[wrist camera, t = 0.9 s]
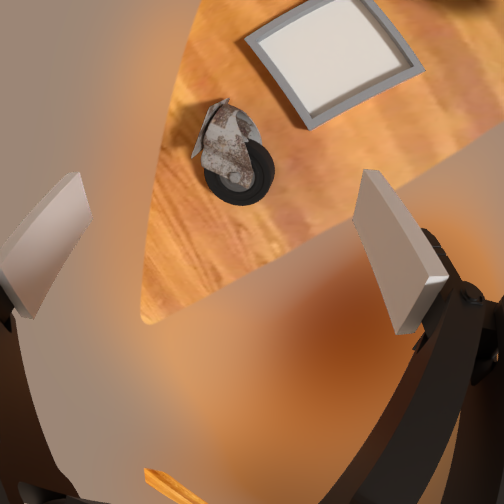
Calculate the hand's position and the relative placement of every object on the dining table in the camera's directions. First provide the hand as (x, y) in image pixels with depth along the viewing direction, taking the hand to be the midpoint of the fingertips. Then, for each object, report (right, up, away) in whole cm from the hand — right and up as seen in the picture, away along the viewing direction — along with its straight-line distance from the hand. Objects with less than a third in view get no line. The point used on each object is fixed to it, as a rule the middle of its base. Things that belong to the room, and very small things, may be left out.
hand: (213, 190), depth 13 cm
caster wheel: (+1, +10, +24) cm, 26 cm away
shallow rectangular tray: (+11, +21, +15) cm, 28 cm away
